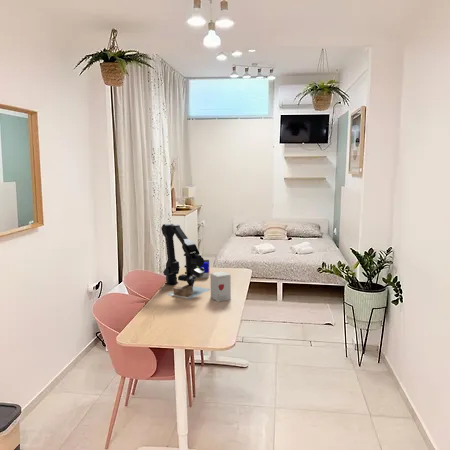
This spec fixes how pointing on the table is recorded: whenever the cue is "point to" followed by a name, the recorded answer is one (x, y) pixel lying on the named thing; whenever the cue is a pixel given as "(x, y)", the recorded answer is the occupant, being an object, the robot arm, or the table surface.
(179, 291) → the tee
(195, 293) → the mat
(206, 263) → the puzzle toy
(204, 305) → the table surface
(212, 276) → the supplement box
